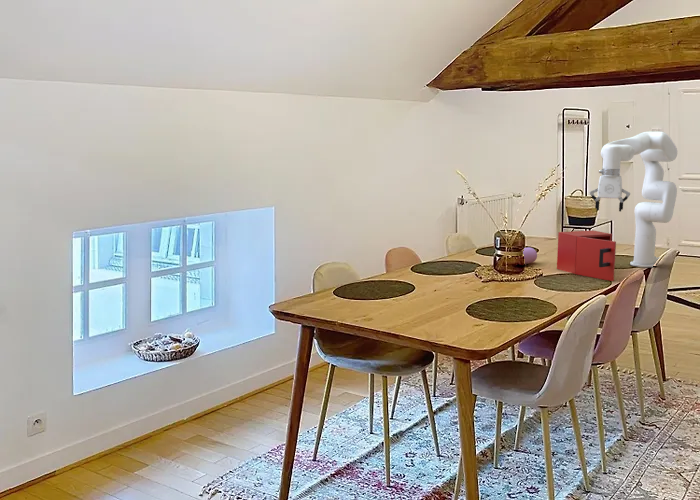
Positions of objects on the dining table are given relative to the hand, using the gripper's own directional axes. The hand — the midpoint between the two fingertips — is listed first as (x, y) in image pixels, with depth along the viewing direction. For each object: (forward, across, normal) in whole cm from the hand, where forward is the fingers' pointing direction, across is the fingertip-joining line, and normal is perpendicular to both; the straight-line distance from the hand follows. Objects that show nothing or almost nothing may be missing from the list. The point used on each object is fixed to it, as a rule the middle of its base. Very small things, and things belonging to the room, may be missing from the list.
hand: (608, 210), depth 322 cm
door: (+30, -6, -9) cm, 32 cm away
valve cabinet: (+30, -11, +11) cm, 34 cm away
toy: (+31, -40, +13) cm, 52 cm away
